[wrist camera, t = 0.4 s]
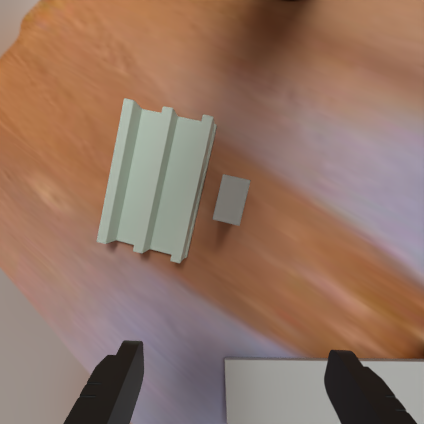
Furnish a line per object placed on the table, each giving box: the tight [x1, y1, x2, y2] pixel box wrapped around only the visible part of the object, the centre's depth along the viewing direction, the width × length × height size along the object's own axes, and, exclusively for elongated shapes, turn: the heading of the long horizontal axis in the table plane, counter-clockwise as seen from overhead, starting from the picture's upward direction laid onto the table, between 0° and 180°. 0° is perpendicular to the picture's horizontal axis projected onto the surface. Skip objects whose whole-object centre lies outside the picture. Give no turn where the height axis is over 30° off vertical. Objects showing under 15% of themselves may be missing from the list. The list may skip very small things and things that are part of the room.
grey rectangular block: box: [213, 174, 251, 226], centre depth 28 cm, size 5×3×12 cm, turn 167°
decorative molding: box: [225, 357, 424, 424], centre depth 34 cm, size 34×5×10 cm
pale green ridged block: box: [97, 98, 217, 263], centre depth 33 cm, size 22×14×4 cm, turn 167°
